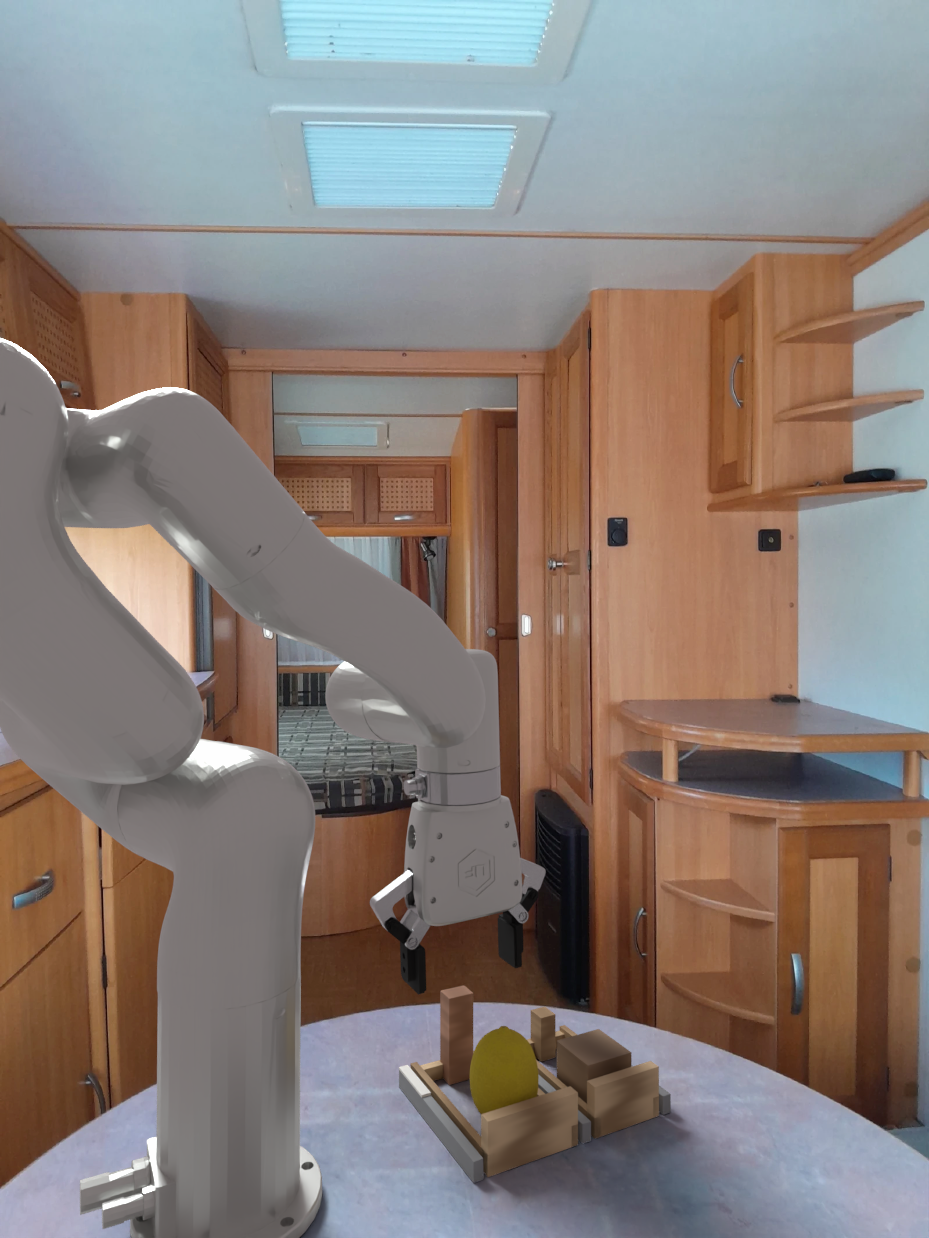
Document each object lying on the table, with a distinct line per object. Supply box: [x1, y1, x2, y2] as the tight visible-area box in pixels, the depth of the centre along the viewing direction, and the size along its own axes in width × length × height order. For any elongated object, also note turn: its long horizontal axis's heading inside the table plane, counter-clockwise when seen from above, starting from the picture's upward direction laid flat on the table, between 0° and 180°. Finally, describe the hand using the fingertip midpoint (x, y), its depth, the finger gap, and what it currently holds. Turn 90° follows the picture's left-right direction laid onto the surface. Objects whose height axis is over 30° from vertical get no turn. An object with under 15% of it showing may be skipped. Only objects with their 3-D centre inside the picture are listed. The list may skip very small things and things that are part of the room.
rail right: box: [631, 1064, 672, 1116], centre depth 71 cm, size 1×11×2 cm, turn 27°
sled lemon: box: [409, 984, 579, 1178], centre depth 66 cm, size 8×14×8 cm, turn 28°
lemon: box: [469, 1025, 539, 1115], centre depth 64 cm, size 6×6×8 cm
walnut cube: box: [556, 1028, 632, 1104], centre depth 68 cm, size 4×4×4 cm
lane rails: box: [398, 1064, 592, 1184], centre depth 66 cm, size 10×14×2 cm
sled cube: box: [526, 1006, 660, 1140], centre depth 70 cm, size 6×14×4 cm, turn 28°
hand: (464, 974), depth 72 cm, fingers open, 9 cm apart
